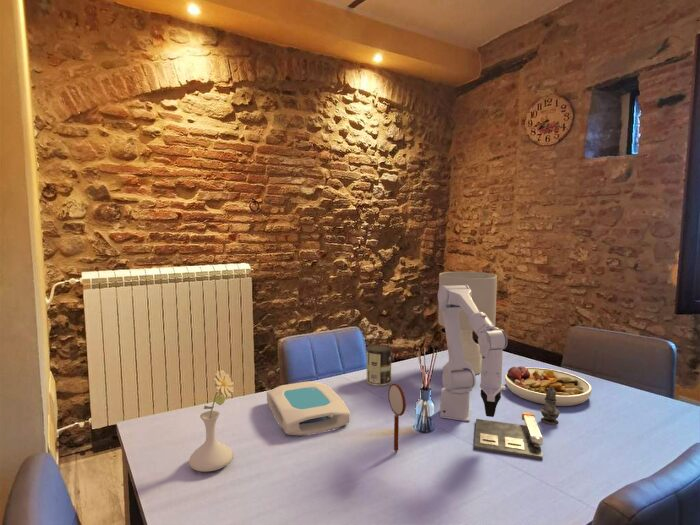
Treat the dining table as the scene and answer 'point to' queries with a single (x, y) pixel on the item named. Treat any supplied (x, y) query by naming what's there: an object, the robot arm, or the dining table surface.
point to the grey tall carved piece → (550, 408)
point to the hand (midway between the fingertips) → (489, 415)
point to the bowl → (547, 385)
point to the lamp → (484, 300)
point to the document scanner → (307, 408)
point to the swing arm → (532, 428)
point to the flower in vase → (213, 432)
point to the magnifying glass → (396, 408)
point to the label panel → (505, 439)
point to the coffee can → (379, 365)
